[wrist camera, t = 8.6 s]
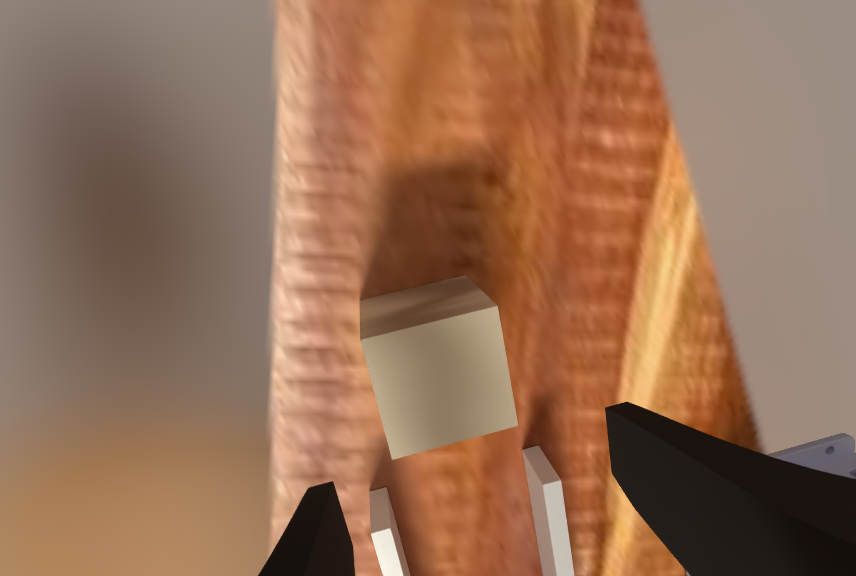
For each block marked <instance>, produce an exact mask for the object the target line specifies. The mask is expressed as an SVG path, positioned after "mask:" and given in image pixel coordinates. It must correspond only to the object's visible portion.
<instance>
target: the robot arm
mask: <svg viewBox="0 0 856 576" xmlns="http://www.w3.org/2000/svg"><path fill="white" fill-rule="evenodd" d="M605 411H606V421H607V431H608V441H609V451H610V460H611V470H612V474H613V476H614V477H615V479H616V480H617V482H618V484H619V485H620V487H621V488H622V490H623V492H624V493H625V495H626V496H627V498H628V499H629V501H630V502H631V504H632V505H633V507H634V508H635V509H636V511H637V512H638V513H639V514H640V516H641V517H642V518H643V519H644V520H645V522H646V523H647V524H648V525H649V527H650V528H651V529H652V530H653V531H654V533H655V534H656V535H657V536H658V537H659V539H660V540H661V541H662V542H663V543H664V545H665V546H666V547H667V548H668V549H669V551H670V552H671V553H672V554H673V555H674V557H675V558H676V559H677V560H678V561H679V563H680V564H681V565H682V566H683V567H684V569H685V570H686V574H687V576H856V453H854V448H855V440H854V439H853V438H852V437H851V436H849V435H847V434H845V433H841V434H838V435H834V436H830V437H827V438H824V439H820V440H817V441H813V442H810V443H806V444H803V445H799V446H796V447H793V448H789V449H785V450H782V451H779V452H775V453H772V454H768V455H764V454H761V453H758V452H755V451H752V450H749V449H746V448H744V447H741V446H738V445H735V444H732V443H729V442H727V441H724V440H721V439H719V438H716V437H713V436H711V435H708V434H706V433H703V432H701V431H698V430H696V429H693V428H691V427H688V426H686V425H683V424H681V423H679V422H676V421H674V420H671V419H669V418H667V417H664V416H662V415H659V414H657V413H655V412H652V411H650V410H647V409H645V408H642V407H640V406H637V405H635V404H632V403H629V402H624V403H620V404H617V405H613V406H609V407H606V408H605ZM258 576H355V568H354V553H353V544H352V541H351V538H350V535H349V532H348V528H347V525H346V522H345V519H344V515H343V512H342V509H341V506H340V502H339V499H338V496H337V493H336V489H335V486H334V483H333V481H332V482H328V483H324V484H321V485H317V486H313V487H310V488H308V490H307V491H306V493H305V494H304V496H303V498H302V500H301V502H300V504H299V505H298V507H297V509H296V511H295V513H294V515H293V517H292V518H291V520H290V522H289V524H288V526H287V528H286V529H285V531H284V533H283V535H282V536H281V538H280V540H279V542H278V543H277V545H276V547H275V548H274V550H273V552H272V554H271V555H270V557H269V559H268V560H267V562H266V564H265V565H264V567H263V569H262V571H261V572H260V573H259V575H258Z"/></svg>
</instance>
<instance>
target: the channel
mask: <svg viewBox="0 0 856 576" xmlns="http://www.w3.org/2000/svg"><path fill="white" fill-rule="evenodd" d="M522 452H523V458H524V464H525V470H526V476H527V482H528V488H529V494H530V500H531V506H532V512H533V518H534V524H535V530H536V537H537V543H538V549H539V555H540V561H541V567H542V573H543V576H574V570H573V563H572V555H571V548H570V541H569V534H568V527H567V520H566V513H565V506H564V498H563V491H562V484H561V479H560V478H559V476H558V475H557V473H556V472H555V470H554V469H553V467H552V466H551V464H550V463H549V461H548V459H547V458H546V456H545V455H544V453H543V452H542V450H541V449H540V447H539V446H534V447H531V448H527V449H523V450H522ZM369 497H370V522H371V536H372V539H373V542H374V546H375V549H376V553H377V556H378V560H379V563H380V566H381V570H382V573H383V576H410V572H409V568H408V565H407V561H406V557H405V554H404V550H403V546H402V542H401V539H400V535H399V531H398V528H397V524H396V520H395V517H394V513H393V509H392V505H391V502H390V498H389V494H388V491H387V487H385V488H381V489H377V490H374V491H370V492H369Z"/></svg>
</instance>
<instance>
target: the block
mask: <svg viewBox="0 0 856 576" xmlns="http://www.w3.org/2000/svg"><path fill="white" fill-rule="evenodd" d="M360 341H361V344H362V348H363V352H364V356H365V359H366V363H367V367H368V371H369V375H370V378H371V382H372V386H373V390H374V393H375V397H376V401H377V405H378V408H379V412H380V416H381V420H382V423H383V427H384V431H385V435H386V438H387V442H388V446H389V450H390V453H391V457H392V460H394V459H397V458H401V457H405V456H408V455H412V454H416V453H419V452H423V451H427V450H430V449H434V448H438V447H441V446H445V445H449V444H452V443H456V442H460V441H463V440H467V439H471V438H474V437H478V436H482V435H485V434H489V433H493V432H496V431H500V430H504V429H508V428H511V427H515V426H518V422H517V417H516V411H515V405H514V399H513V393H512V387H511V381H510V375H509V370H508V364H507V358H506V352H505V346H504V340H503V334H502V329H501V323H500V317H499V311H498V306H497V305H496V304H495V303H494V302H493V301H492V300H491V299H490V298H489V297H488V296H487V295H486V294H485V293H484V292H483V291H482V290H481V289H480V288H479V287H478V286H477V285H476V284H475V283H474V282H473V281H472V280H471V279H470V278H469V277H468V276H467V275H464V276H459V277H455V278H451V279H447V280H443V281H439V282H434V283H430V284H426V285H422V286H418V287H414V288H409V289H405V290H401V291H397V292H393V293H389V294H384V295H380V296H376V297H372V298H368V299H364V300H360Z"/></svg>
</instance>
